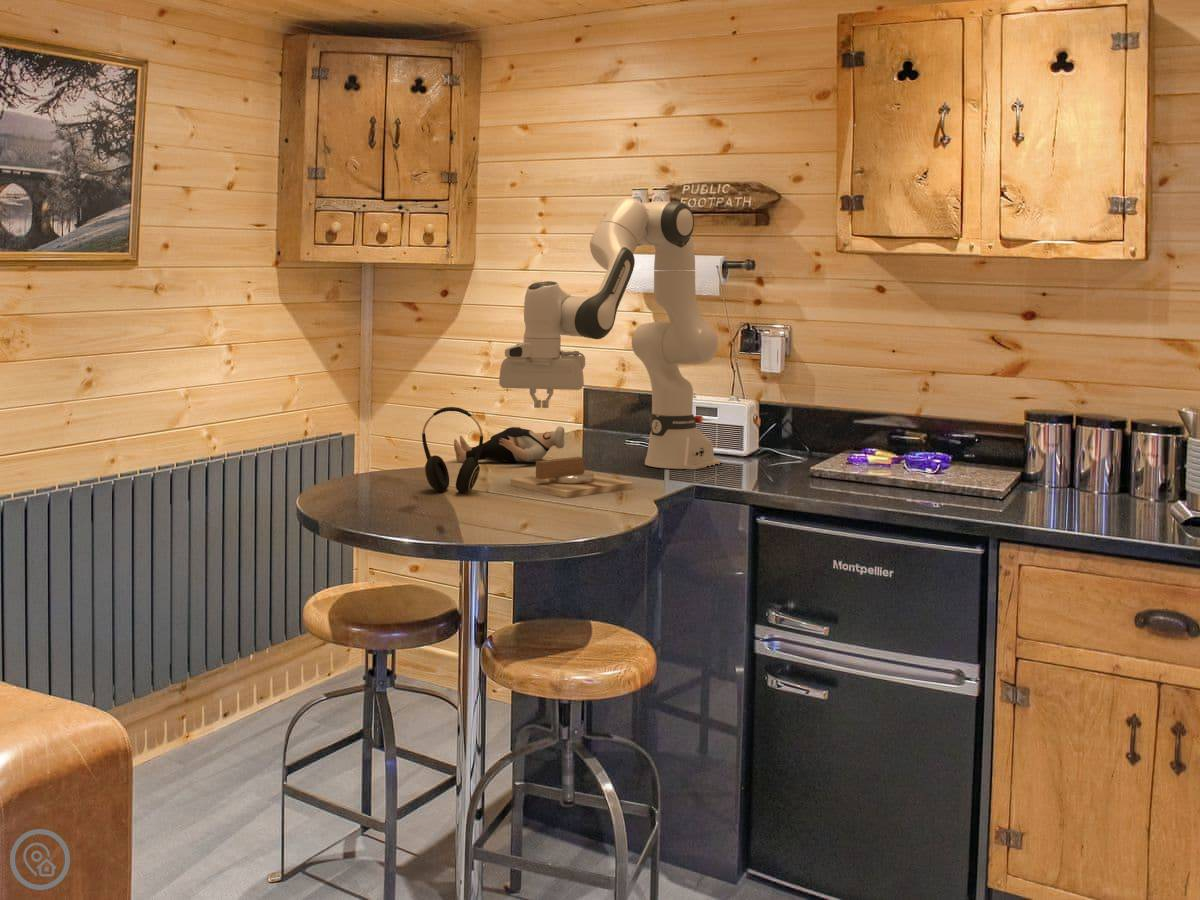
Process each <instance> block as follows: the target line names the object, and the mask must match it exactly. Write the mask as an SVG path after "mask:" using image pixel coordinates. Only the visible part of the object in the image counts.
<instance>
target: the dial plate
mask: <svg viewBox="0 0 1200 900" xmlns="http://www.w3.org/2000/svg"><path fill="white" fill-rule="evenodd" d="M509 482H510V484H509V485H510V486H514V487H516V488H517V487H518V488H522V489H526V490H530V491H534V492H539V493H542V494H545V495H546V494H547V495H551V496H554V497H560V498H565V499H568V498H576V497H582V496H588V495H589V496H590V495H597V494H598V495H599V494H605V493H610V492H612V493H613V492H618V491H625V490H626V491H627V490H632V489H633V482H630V481H626V480H622V479H616V478H612V477H607V476H602V475H597V474H594V481H592V482H588V483H558V482H552V481H550V480H549V479H538V478H536V475H533V476H526V477H525V476H524V477H516V478H515V477H514V478H510V480H509Z"/></svg>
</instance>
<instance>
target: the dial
mask: <svg viewBox="0 0 1200 900" xmlns="http://www.w3.org/2000/svg"><path fill="white" fill-rule="evenodd" d="M594 475H595V473H594V472H590V471H586V470H585V457H581V456H572V457H570V456H569V457H563V458H554V459H553V458H552V459H545V460H544V459H543V460H539V461H536V462H535V476H536V478H538V479H549V480H550V481H552V482H558V483H588V482H592V481H594Z"/></svg>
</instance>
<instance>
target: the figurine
mask: <svg viewBox="0 0 1200 900" xmlns="http://www.w3.org/2000/svg"><path fill="white" fill-rule="evenodd" d="M478 446H479V444H478V445H475V446H474V447H471V446H470V445H469V444H468V443H467V441H466V440H465V439H464V437H463V436H462V435H460V436H459V441H458V440H457V439H456V438H455V439H454V440H453V448H454V452H455V458H456V462H457V461H458V462H457V463H464V461H465V460H466V459H467V458H469V457H473V458H475V455H476V452H477V450H478ZM564 446H565V428H564V427H562V426H557V427H556V429H555V430H554V431H553V430H552V431H545V432H535V431H533V430H531V429H527V428H522V427H520V426H519V427H517V426H512V427H510V426H509V427H508V428H506V429H504V430H503V431H500V432H498V433H496V434H493V435H492V436H491V437H490V439H489V440H486V441H485V442H483V446H482V450H481V454H480V457H479V461H481V460H482V461H483V460H485V459H491V460H494V461H503V462H504V461H505V462H507V463H516V464H517V463H536V461H541V460H542V459H543V458H544V457H545V456H546V455H547V453H548V452H549V450H550V449H551V448H552V447H556V449H563V448H564Z"/></svg>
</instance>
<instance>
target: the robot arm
mask: <svg viewBox="0 0 1200 900" xmlns="http://www.w3.org/2000/svg"><path fill="white" fill-rule="evenodd" d="M694 228H695V216H694V214H693V212H692V210H691V208H690V207H689V205H687V204H686V203H684V202H681V201H675V200H672V201H666V200H665V201H664V200H663V201H661V200H656V201H648V202H643V203H642V202H641V201H640V200H638V199H636V198H632V197H624V198H621V199H620V200H618V201H617V202H616V203H615V204H614V205H613V206H612V207H611V208H610V209H609V210H608V212H607V213H606V214H605V216H604V217H603V218H602V219H601V221H600V223H599V225H598V226H597V227H596V228H595V230H594V232H593V234H592V236H591V239H590V242H589V248H590V254H591V255H592V257H593V259H594V260H595V262H596V263H597V264H598V265H599V266H600V267H601V268H603V269H604V270H606V273H605V275H604V276H603V277H604V278H603V280H602V282H601V283H600V286H599V288H598V290H597V292H595V293H593V294H592V295H588V296H574V295H571V294H569V293H567V292H566V291H564V290H563V289H562V288H561V287H560V286H559V283H558V282H556V281H550V280H549V281H546V280H545V281H538V282H533V283H531V284H530V285H529V286H528V287H527V288H526V292H525V295H524V302H523V305H524V306H523V322H524V324H525V325H524V326H525V327H524V333H523V342H522V343H517V344H515V345H511V346H509V347H506V348H505V349H504V356H505V357H506V358H505V359H504V360H502V362H501V364H500V368H499V370H500V371H499V377H498V378H499V379H498V382H499V383H498V384H499V386H500V387H501V388H503V389H525V390H526V389H528V390H529V396H530V397H531V398H532V401H533V408H534V409H535V408H536V409H541V408H542V409H549V405H550V404H549V403H550V399H551V398H552V396H553V395H554V390H562V391H563V390H564V391H565V390H567V391H568V390H569V391H572V390H573V391H580V390H581V389H582V388H584V385H585V382H584V380H585V379H584V377H585V376H584V371H583V370H584V369H585V367H586V356H585V355H584V354H583V353H582V352H580V351H579V350H572V351H571V350H561V345H562V343H561V342H562V341H561V337H562V336H570V337H578V338H581V337H582V338H587V339H592V340H601V339H603V338H605V337H606V336H608V334H609V333H610V332H611V330H612V329H613V327H614V324H615V321H616V316H617V312H618V308H619V306H620V303H621V301H622V299H623V296H624V294H625V292H626V289H627V287H628V284H629V282H630V279H631V277H632V275H633V271H634V267H635V260H636V259H635V256H634V252H635V251H636V249H637V247H638V245H644V246H645V245H646V246H653V247H654V250H655V252H654V262H653V265H654V266H653V270H654V271H653V298H654V301H655V303H656V304H657V305H658V306H659V307H660V308H662V309H664V310H665V312H666V313H667V316H668V319H669V322H668V321H667V322H664V321H663V322H662V321H653V322H647V323H642V324H640V325H638V326H637V327H636V328H635V330H634V331H633V334H632V336H631V348H632V351H633V353H634V355H635V356H636V357H637V358H638V360H640V361H641V362H642V363H643V365H644V368H645V369H646V370H647V375H648V377H649V379H650V380H649V381H650V385H651V413H650V417H649V427H650V433H649V438H648V439H649V440H648V445H647V453H646V457H645V460H644V465H645V466H648V467H653V468H660V469H671V470H672V469H674V470H675V469H676V470H677V469H679V470H681V469H683V470H684V469H685V470H698V469H704V468H707V466H709V467H712V466H711V465H713V466H716V465H715V464H718V465H721V464H720V463H722V464H723V461H722V459H719V458H716V457H715V454H714V445H713V443H712V442H713V441H711V440H710V439H709V438H708V437H707V436H706V435H705V434H703V432H702V431H701V430H700V429H698V427H697V423H698V424H702V423H703V422H704V417H703V415H699V414H698V415H697V414H696V415H695V416H694V413H693V401H694V389H693V385H692V383H691V382H690V381H689V380H688V379H686V378H685V377H684V376H683V375H682V373H681V372H680V369H679V365H678V364H680V365H693V366H694V365H700V364H705V363H708V362H710V361H712V360H713V359H714V358H715V356H716V354H717V352H718V349H719V341H718V337H717V334H716V332H715V330H714V328H712V327H711V326H710V325H708V323H707V322H706V320H705V319H704V318H703V316H702V313H701V312H700V308H699V307H698V306H699V305H698V302H697V295H696V294H697V293H696V256H695V255H696V254H695V249H694V248H695V247H694V242H693V238H692V235H693V231H694ZM537 390H546V394H548V395H547V397H546V399H542V400H541V399H538V398H537V396H536V393H537Z"/></svg>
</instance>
